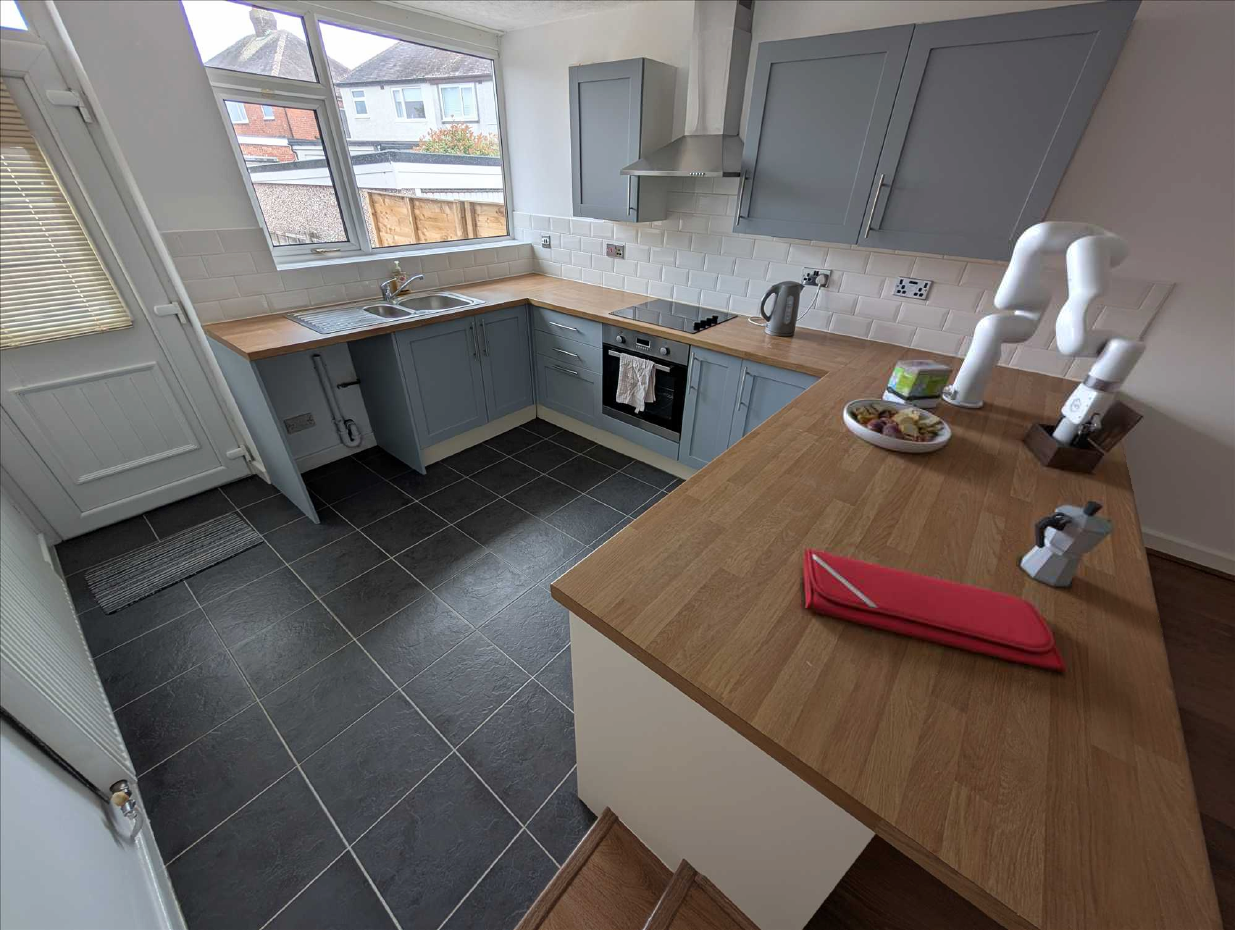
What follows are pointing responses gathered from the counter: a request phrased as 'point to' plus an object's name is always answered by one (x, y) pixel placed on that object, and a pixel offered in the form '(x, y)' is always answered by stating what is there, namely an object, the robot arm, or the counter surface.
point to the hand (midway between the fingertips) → (1066, 438)
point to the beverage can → (1065, 432)
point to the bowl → (896, 425)
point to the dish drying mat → (929, 609)
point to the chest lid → (1115, 425)
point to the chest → (1061, 450)
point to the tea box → (917, 383)
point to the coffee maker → (1065, 542)
